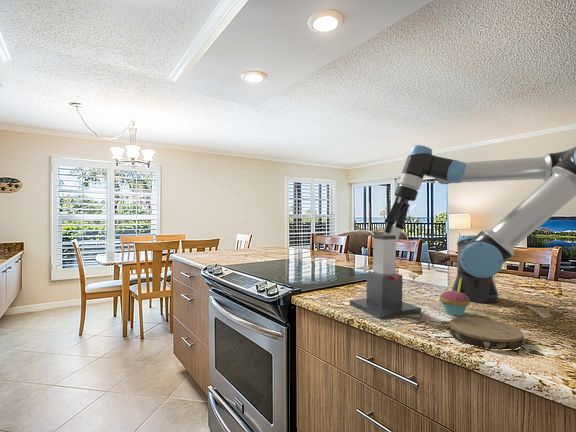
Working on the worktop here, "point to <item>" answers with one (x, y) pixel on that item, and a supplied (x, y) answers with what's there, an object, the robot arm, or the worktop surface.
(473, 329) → the wooden slice coaster
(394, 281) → the stand base
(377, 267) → the column
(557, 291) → the worktop surface
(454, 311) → the cupcake
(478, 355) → the worktop surface
